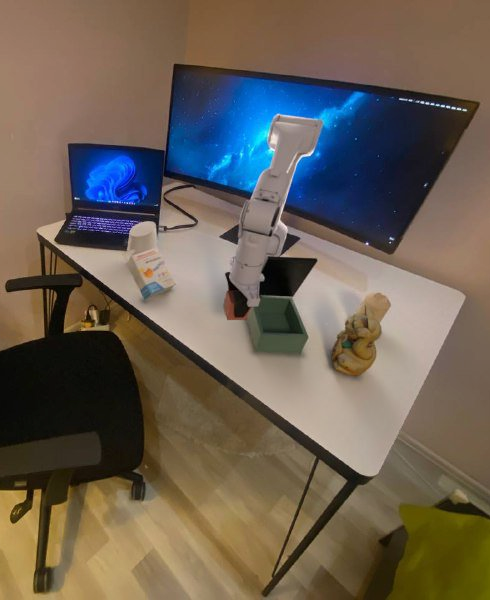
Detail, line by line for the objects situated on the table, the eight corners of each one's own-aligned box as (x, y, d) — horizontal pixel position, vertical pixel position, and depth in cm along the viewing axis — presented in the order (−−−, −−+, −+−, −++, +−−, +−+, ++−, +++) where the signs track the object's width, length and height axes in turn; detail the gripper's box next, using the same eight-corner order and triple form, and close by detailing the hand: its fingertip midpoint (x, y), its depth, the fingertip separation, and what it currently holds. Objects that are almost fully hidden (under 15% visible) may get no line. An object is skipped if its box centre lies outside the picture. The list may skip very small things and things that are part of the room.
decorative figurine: (326, 344, 83) (352, 296, 73) (363, 352, 81) (395, 305, 71) (329, 375, 76) (358, 327, 66) (370, 385, 74) (406, 338, 64)
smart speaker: (129, 256, 110) (129, 215, 100) (158, 258, 109) (160, 218, 100) (124, 274, 103) (123, 232, 93) (155, 277, 102) (157, 235, 92)
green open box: (300, 354, 80) (308, 337, 77) (254, 351, 81) (260, 334, 77) (285, 313, 91) (292, 297, 87) (245, 311, 91) (249, 295, 87)
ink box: (150, 294, 89) (125, 245, 91) (144, 300, 94) (120, 253, 96) (176, 283, 93) (152, 236, 95) (169, 290, 97) (146, 245, 99)
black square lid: (317, 261, 74) (313, 243, 77) (267, 258, 74) (264, 242, 77) (293, 297, 86) (289, 281, 89) (250, 295, 87) (248, 279, 89)
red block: (222, 306, 80) (226, 290, 77) (241, 306, 80) (246, 290, 77) (227, 320, 77) (231, 303, 73) (246, 320, 77) (251, 303, 74)
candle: (351, 330, 86) (369, 300, 80) (349, 316, 90) (366, 286, 84) (375, 336, 85) (395, 306, 78) (372, 322, 89) (391, 292, 82)
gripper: (282, 280, 63) (264, 331, 72) (257, 239, 74) (244, 288, 83) (244, 281, 63) (230, 333, 72) (225, 239, 74) (215, 288, 83)
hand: (236, 309), depth 78 cm, fingers closed on red block, 4 cm apart
